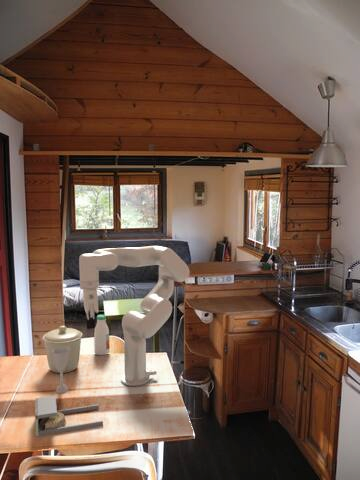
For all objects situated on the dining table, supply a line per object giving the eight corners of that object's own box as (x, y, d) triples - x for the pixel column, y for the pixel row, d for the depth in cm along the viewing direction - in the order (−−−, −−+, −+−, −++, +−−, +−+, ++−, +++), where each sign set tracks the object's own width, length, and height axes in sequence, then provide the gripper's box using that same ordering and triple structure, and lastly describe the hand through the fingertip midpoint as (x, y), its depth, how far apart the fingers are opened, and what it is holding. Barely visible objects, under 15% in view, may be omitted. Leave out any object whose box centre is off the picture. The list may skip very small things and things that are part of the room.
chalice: (65, 395, 181) (64, 353, 179) (50, 393, 183) (48, 352, 180) (73, 387, 189) (71, 347, 186) (58, 385, 190) (57, 346, 188)
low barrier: (98, 407, 171) (98, 389, 170) (103, 425, 159) (102, 405, 158) (36, 417, 164) (35, 398, 163) (36, 436, 152) (35, 415, 151)
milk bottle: (102, 356, 221) (101, 318, 218) (91, 353, 225) (90, 316, 222) (112, 351, 228) (111, 314, 225) (101, 348, 232) (100, 312, 229)
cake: (61, 417, 166) (61, 403, 165) (70, 429, 158) (71, 415, 157) (34, 423, 160) (35, 409, 160) (43, 436, 152) (43, 422, 152)
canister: (42, 379, 196) (40, 334, 193) (45, 362, 214) (43, 321, 211) (83, 374, 200) (82, 330, 198) (83, 359, 218) (81, 318, 215)
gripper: (101, 287, 169) (102, 333, 172) (96, 279, 184) (97, 321, 186) (81, 289, 167) (83, 335, 170) (78, 280, 181) (79, 323, 184)
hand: (90, 327), depth 178 cm, fingers closed
